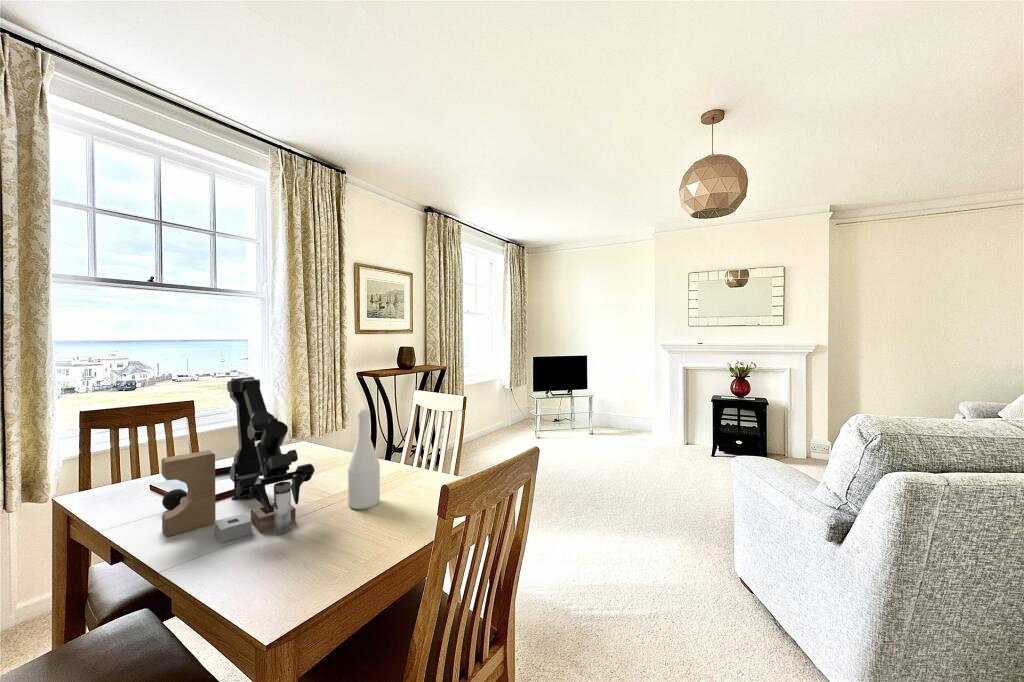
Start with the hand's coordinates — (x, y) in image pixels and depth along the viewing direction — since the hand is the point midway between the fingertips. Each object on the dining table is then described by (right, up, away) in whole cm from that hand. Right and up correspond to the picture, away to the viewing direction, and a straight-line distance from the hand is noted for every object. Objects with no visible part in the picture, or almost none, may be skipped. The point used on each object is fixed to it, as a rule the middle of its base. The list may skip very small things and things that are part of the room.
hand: (284, 507), depth 112 cm
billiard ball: (-41, -7, +15) cm, 44 cm away
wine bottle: (+15, -7, +20) cm, 25 cm away
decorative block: (-28, -7, +3) cm, 29 cm away
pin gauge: (-1, -7, +1) cm, 7 cm away
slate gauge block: (-14, -7, 0) cm, 15 cm away
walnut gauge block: (-7, -7, +7) cm, 12 cm away
